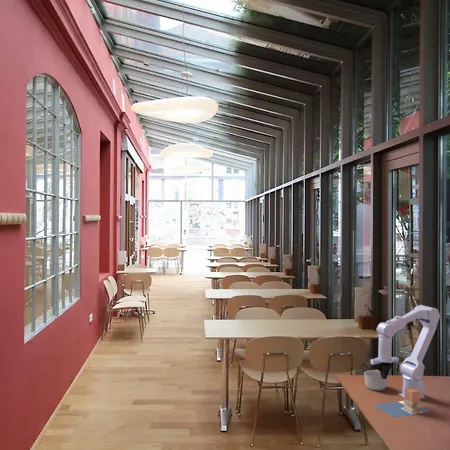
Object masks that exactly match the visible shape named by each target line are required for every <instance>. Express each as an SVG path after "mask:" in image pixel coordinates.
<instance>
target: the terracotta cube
mask: <svg viewBox="0 0 450 450" xmlns="http://www.w3.org/2000/svg"><path fill="white" fill-rule="evenodd" d="M420 392H421V391H419V390H417V389H415V388H406V389H405V397H404V400H405V399H406V400H408V401H410V402H419V401H420V402H421V399H420Z"/></svg>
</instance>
